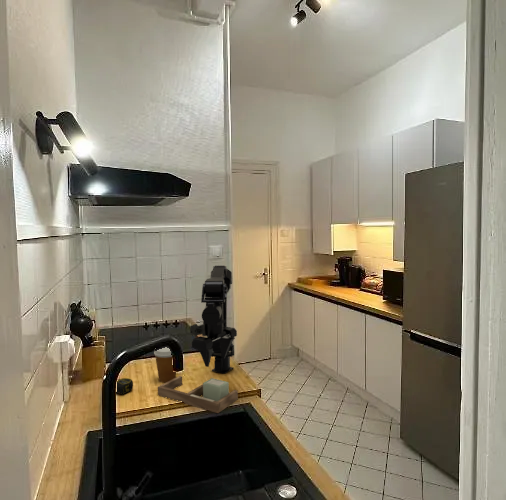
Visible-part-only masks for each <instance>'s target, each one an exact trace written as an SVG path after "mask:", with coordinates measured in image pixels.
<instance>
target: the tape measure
mask: <svg viewBox="0 0 506 500" xmlns="http://www.w3.org/2000/svg"><path fill="white" fill-rule="evenodd" d="M117 380H118V381H117V392H116V393H117V394H120V395H124V394H126V393H129V392H131V391H132V390H133V388H134V382H133V380H132V379H131V378H127V377H123V378H122V377H121V378H119V379H117Z"/></svg>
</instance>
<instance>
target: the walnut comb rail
mask: <svg viewBox="0 0 506 500" xmlns="http://www.w3.org/2000/svg"><path fill="white" fill-rule="evenodd" d="M182 385H183V376H182V375H179V376H176V378H174V379H172V380H170V381H168V382H163V383H162V384H160V385H158V386H157V396H158V395H159V396H158V397H162V398H165V397H167V398H166V399H168V398H170V399H169V400H172V399H174V400H173V401H175V400H178V401H182V402H184V403H183V404H186V405H189V406H192V407H195V408H199V409H202V410H205V411H208V412H212V413H214V414H215V413H216V414H219V413H220V412H222V411H223V410H225V409H226V408H228V407H229V406H231V405H232V404H234V403H235V402H236V401H237V400H238V398H239V397H238V396H239V391H238V390H236V389H233V390H232V391H231V392H229V394H228V395H226V396H225V397H223V398H222V399H220V400H219V401H214V400H211V399H207V398H204V397H203V383H202V384H201V385H200V386H199V385H198V386H197V387H195V388H194V389H191V390H190V391H188V392H185V391H180V390H178V389H176V387H177V388H178V386H179V387H180V386H182ZM201 395H202V396H201ZM200 396H201V397H200ZM178 401H177V402H178ZM182 402H181V403H182Z"/></svg>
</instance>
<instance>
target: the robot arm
mask: <svg viewBox="0 0 506 500" xmlns="http://www.w3.org/2000/svg"><path fill="white" fill-rule="evenodd" d="M232 284H233V271H231V270H230V269H229V268H227V266H226V265H214V266H213V267H212V270H211V272H210V278H206V279H205V280H204V283H202V287H201V288H202V290H201V297H200V298H201V301H200V302H201V303H203V304H204V303H205V307H204V309H203V310H202V312H201V319H202V324H199V325H198V324H196V323H195V324H191V325H189V326H190V327H189V333H190V335H192V336H193V337H195V338H193V339H192V340H191V341H190V344H191V345H190V347H191V348H192V349H194V350H197V351H198V352H199V353H200V354H199V355H201V358H202V361H203V363H204V367H206V368H209V366H210V363H211V360H212V358H213V357H214V364H213V365H214V368H212V369H211V371H212V372H215V373H219V374H223V375H225V374H227V373H229V372H230V371H232V370H233V369H234V367H233V366H231V357H234V356H235V345H234V343H233V342H234V340H235V337H237V336H238V333H237V331H238V330H237V329H236V328H235V327H230V326H228V293H229V292H230V289H231V286H232ZM201 335H202V336H201ZM231 369H232V370H231ZM228 371H229V372H228Z"/></svg>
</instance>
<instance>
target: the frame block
mask: <svg viewBox="0 0 506 500" xmlns="http://www.w3.org/2000/svg"><path fill="white" fill-rule="evenodd" d="M202 384H203V395H202V397H204V398H207V399H211V400H214V401H219V400H220V399H222V398H223V397H225V396H226V395H228V394H229V393H230V392H229V391H230V390H229V388H230V386H229V384H230V383H229V381H225V380H222V379H218V378H214V377H213V378H212V377H211V378H210V379H207V380H206V381H204V382H203V383H202Z"/></svg>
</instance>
